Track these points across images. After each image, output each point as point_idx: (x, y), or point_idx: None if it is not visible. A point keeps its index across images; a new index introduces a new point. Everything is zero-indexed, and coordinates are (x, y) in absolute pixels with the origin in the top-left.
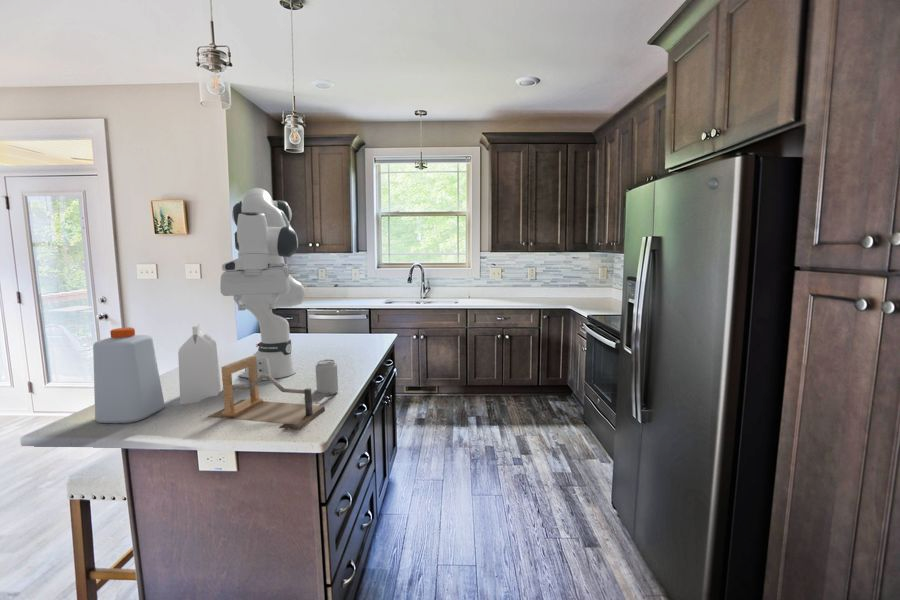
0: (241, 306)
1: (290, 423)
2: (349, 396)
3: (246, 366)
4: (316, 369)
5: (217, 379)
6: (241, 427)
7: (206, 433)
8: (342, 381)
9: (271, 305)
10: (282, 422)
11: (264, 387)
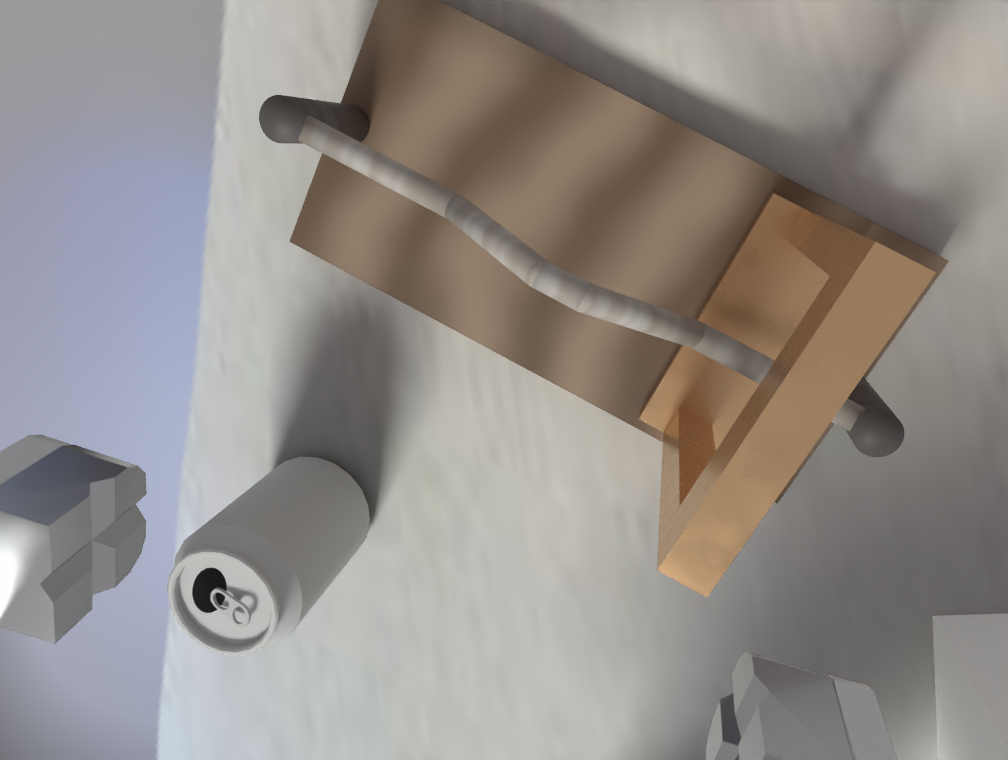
0: (791, 722)
1: (433, 4)
2: (205, 415)
3: (725, 439)
4: (298, 559)
5: (977, 750)
6: (719, 98)
7: (916, 52)
8: (268, 661)
9: (28, 474)
10: (480, 32)
11: (681, 725)
